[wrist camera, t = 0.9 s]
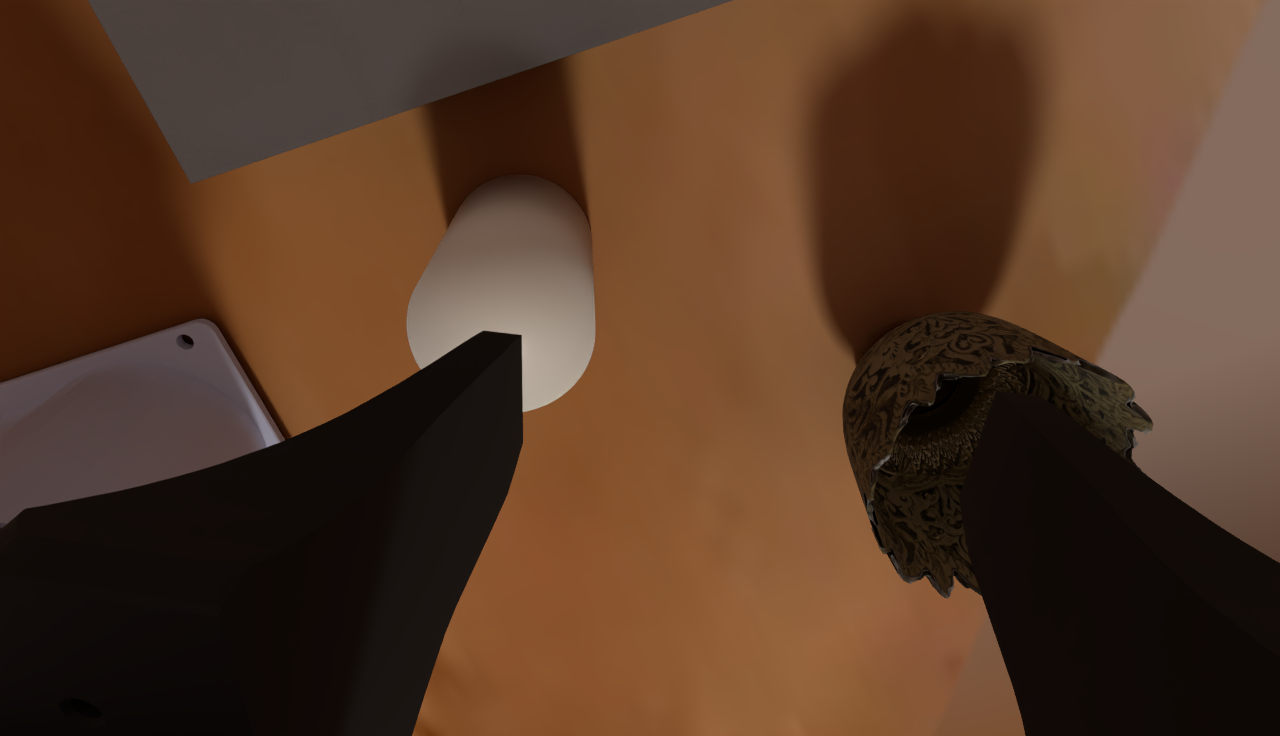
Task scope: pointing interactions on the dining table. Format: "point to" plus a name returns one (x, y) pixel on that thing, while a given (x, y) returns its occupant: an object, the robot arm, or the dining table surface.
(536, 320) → the white rounded cylinder
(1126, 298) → the dining table surface
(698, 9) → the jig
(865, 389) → the cup
